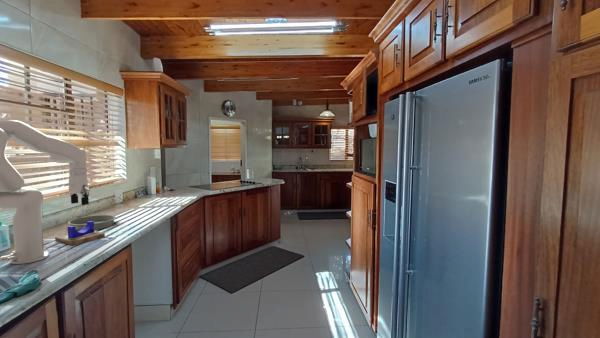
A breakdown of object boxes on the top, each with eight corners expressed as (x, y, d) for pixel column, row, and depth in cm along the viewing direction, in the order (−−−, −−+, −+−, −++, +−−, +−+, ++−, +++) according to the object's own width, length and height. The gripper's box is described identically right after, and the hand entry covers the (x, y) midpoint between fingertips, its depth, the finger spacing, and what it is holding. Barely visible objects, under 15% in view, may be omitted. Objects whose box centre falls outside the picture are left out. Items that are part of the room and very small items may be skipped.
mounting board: (71, 245, 151) (71, 241, 150) (55, 240, 158) (55, 236, 158) (104, 236, 165) (104, 232, 165) (88, 232, 172) (88, 229, 172)
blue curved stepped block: (88, 231, 167) (87, 220, 167) (94, 232, 166) (93, 221, 166) (66, 237, 156) (65, 226, 155) (72, 238, 155) (71, 227, 154)
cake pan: (76, 234, 170) (75, 226, 170) (62, 227, 185) (62, 220, 185) (123, 225, 190) (122, 218, 189) (107, 219, 205) (106, 212, 204)
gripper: (61, 171, 159) (63, 203, 161) (79, 173, 152) (81, 206, 153) (76, 170, 166) (78, 201, 167) (95, 171, 158) (96, 204, 159)
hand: (79, 203), depth 160 cm, fingers open, 9 cm apart
